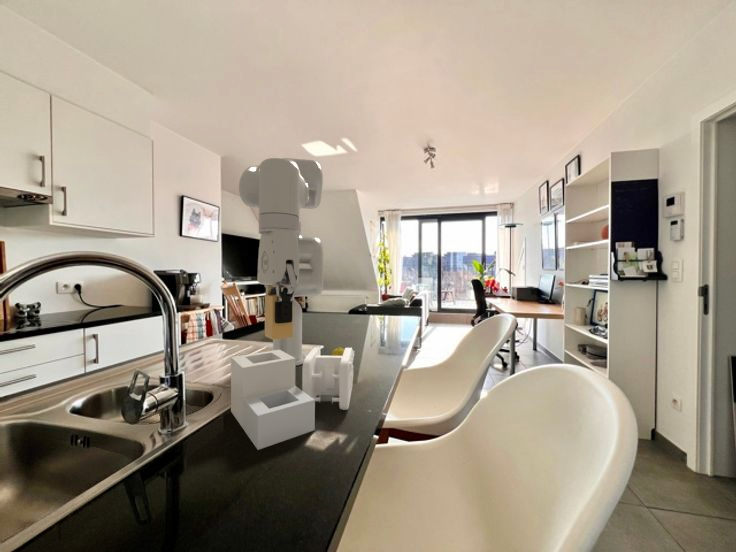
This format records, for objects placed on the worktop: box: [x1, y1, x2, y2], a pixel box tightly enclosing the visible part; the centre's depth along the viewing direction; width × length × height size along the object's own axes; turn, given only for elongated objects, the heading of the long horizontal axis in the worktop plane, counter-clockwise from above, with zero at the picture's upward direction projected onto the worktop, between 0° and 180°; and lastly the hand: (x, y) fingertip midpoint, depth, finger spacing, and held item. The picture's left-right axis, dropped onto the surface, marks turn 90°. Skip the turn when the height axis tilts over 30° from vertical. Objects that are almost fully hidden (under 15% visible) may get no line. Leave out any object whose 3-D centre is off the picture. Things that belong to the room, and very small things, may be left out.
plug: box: [264, 294, 293, 341], centre depth 59 cm, size 4×4×8 cm
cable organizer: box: [301, 346, 355, 411], centre depth 74 cm, size 15×11×12 cm
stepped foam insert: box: [230, 350, 316, 451], centre depth 64 cm, size 18×11×12 cm, turn 38°
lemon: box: [330, 346, 345, 356], centre depth 93 cm, size 6×6×8 cm
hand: (278, 320), depth 59 cm, fingers closed on plug, 4 cm apart
